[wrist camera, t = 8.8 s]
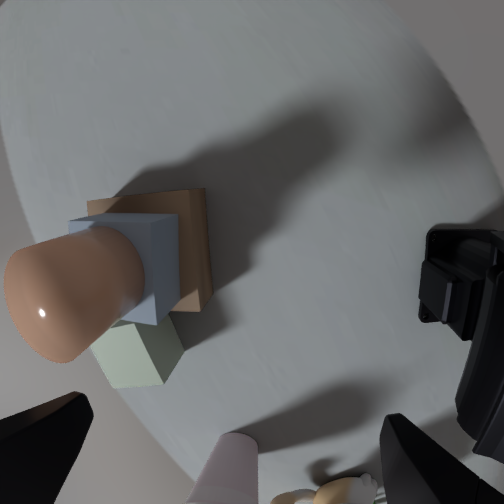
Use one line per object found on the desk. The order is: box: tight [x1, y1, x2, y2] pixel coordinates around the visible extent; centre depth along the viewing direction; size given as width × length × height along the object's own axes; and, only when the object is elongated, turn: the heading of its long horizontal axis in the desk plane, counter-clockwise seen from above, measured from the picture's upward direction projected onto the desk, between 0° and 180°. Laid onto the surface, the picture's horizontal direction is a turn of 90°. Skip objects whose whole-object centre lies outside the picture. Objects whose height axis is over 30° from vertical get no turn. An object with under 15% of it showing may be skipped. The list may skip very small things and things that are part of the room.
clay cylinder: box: [4, 226, 145, 363], centre depth 12 cm, size 5×5×5 cm
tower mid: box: [68, 213, 181, 325], centre depth 16 cm, size 5×5×4 cm
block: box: [90, 314, 185, 388], centre depth 20 cm, size 4×4×4 cm
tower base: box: [87, 188, 213, 312], centre depth 19 cm, size 7×7×4 cm
